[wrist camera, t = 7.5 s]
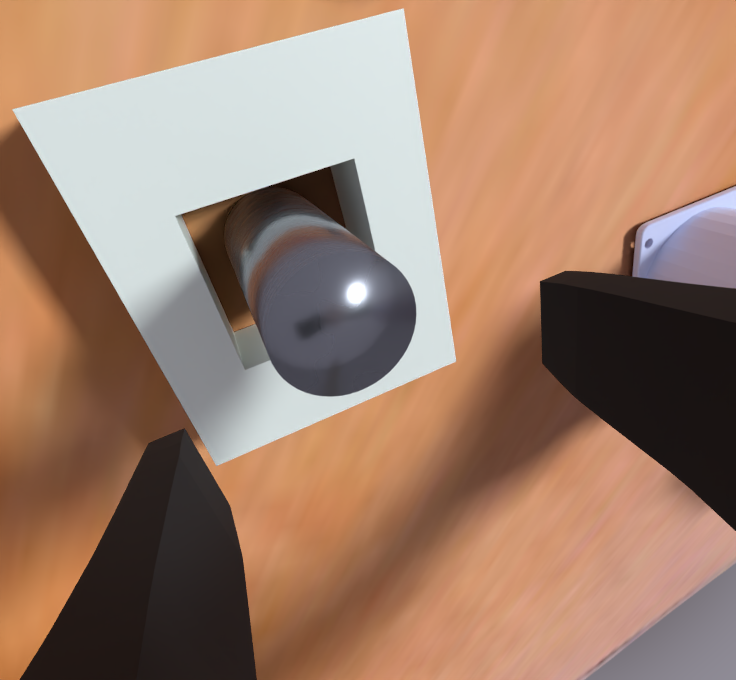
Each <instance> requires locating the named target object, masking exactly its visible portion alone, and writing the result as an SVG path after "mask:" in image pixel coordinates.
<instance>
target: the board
mask: <svg viewBox="0 0 736 680" xmlns="http://www.w3.org/2000/svg"><path fill="white" fill-rule="evenodd" d="M12 110H13V111H14V113H15V115H16V117H17V118H18V120H19V122H20V124H21V125H22V127H23V129H24V131H25V132H26V134H27V136H28V138H29V139H30V141H31V143H32V145H33V146H34V148H35V150H36V152H37V153H38V155H39V157H40V159H41V160H42V162H43V164H44V166H45V167H46V169H47V171H48V173H49V174H50V176H51V178H52V180H53V181H54V183H55V185H56V187H57V188H58V190H59V192H60V193H61V195H62V197H63V199H64V200H65V202H66V204H67V206H68V207H69V209H70V211H71V213H72V214H73V216H74V218H75V220H76V221H77V223H78V225H79V227H80V228H81V230H82V232H83V234H84V235H85V237H86V239H87V241H88V242H89V244H90V246H91V248H92V249H93V251H94V253H95V255H96V256H97V258H98V260H99V262H100V263H101V265H102V267H103V269H104V270H105V272H106V274H107V276H108V277H109V279H110V281H111V283H112V284H113V286H114V288H115V289H116V291H117V293H118V295H119V296H120V298H121V300H122V302H123V303H124V305H125V307H126V309H127V310H128V312H129V314H130V316H131V317H132V319H133V321H134V323H135V324H136V326H137V328H138V330H139V331H140V333H141V335H142V337H143V338H144V340H145V342H146V344H147V345H148V347H149V349H150V351H151V352H152V354H153V356H154V358H155V359H156V361H157V363H158V365H159V366H160V368H161V370H162V372H163V373H164V375H165V377H166V379H167V380H168V382H169V384H170V385H171V387H172V389H173V391H174V392H175V394H176V396H177V398H178V399H179V401H180V403H181V405H182V406H183V408H184V410H185V412H186V413H187V415H188V417H189V419H190V420H191V422H192V424H193V426H194V427H195V429H196V431H197V433H198V434H199V436H200V438H201V440H202V441H203V443H204V445H205V447H206V448H207V450H208V452H209V454H210V455H211V457H212V459H213V461H214V462H215V464H216V466H218V465H220V464H222V463H224V462H227V461H229V460H231V459H234V458H236V457H238V456H240V455H243V454H245V453H247V452H250V451H252V450H254V449H257V448H259V447H261V446H263V445H266V444H268V443H270V442H273V441H275V440H277V439H279V438H282V437H284V436H286V435H289V434H291V433H293V432H295V431H298V430H300V429H302V428H305V427H307V426H309V425H311V424H314V423H316V422H318V421H321V420H323V419H325V418H327V417H330V416H332V415H334V414H337V413H339V412H341V411H344V410H346V409H348V408H350V407H353V406H355V405H357V404H360V403H362V402H364V401H366V400H369V399H371V398H373V397H376V396H378V395H380V394H382V393H385V392H387V391H389V390H392V389H394V388H396V387H398V386H401V385H403V384H405V383H408V382H410V381H412V380H414V379H417V378H419V377H421V376H424V375H426V374H428V373H431V372H433V371H435V370H437V369H440V368H442V367H444V366H447V365H449V364H451V363H453V362H456V357H455V350H454V343H453V337H452V330H451V323H450V317H449V310H448V303H447V297H446V290H445V283H444V276H443V270H442V263H441V256H440V250H439V243H438V236H437V230H436V223H435V216H434V209H433V203H432V196H431V189H430V183H429V176H428V169H427V163H426V156H425V149H424V143H423V136H422V129H421V122H420V116H419V109H418V102H417V96H416V89H415V82H414V76H413V69H412V62H411V55H410V49H409V42H408V35H407V29H406V22H405V15H404V9H399V10H396V11H392V12H388V13H384V14H380V15H376V16H372V17H369V18H365V19H361V20H357V21H353V22H349V23H345V24H341V25H338V26H334V27H330V28H326V29H322V30H318V31H314V32H310V33H307V34H303V35H299V36H295V37H291V38H287V39H283V40H279V41H276V42H272V43H268V44H264V45H260V46H256V47H252V48H249V49H245V50H241V51H237V52H233V53H229V54H225V55H221V56H218V57H214V58H210V59H206V60H202V61H198V62H194V63H190V64H187V65H183V66H179V67H175V68H171V69H167V70H163V71H159V72H156V73H152V74H148V75H144V76H140V77H136V78H132V79H129V80H125V81H121V82H117V83H113V84H109V85H105V86H101V87H98V88H94V89H90V90H86V91H82V92H78V93H74V94H70V95H67V96H63V97H59V98H55V99H51V100H47V101H43V102H39V103H36V104H32V105H28V106H24V107H20V108H16V109H12ZM329 166H330V168H331V171H332V175H333V179H334V183H335V187H336V191H337V195H338V199H339V203H340V207H341V210H342V214H343V218H344V222H345V226H346V230H348V231H349V232H350V233H352V234H353V235H354V236H356V237H357V238H358V239H360V240H361V241H362V242H364V243H365V244H366V245H368V246H369V247H370V248H372V249H373V250H374V251H376V252H377V253H378V254H380V255H381V256H382V257H384V258H385V259H386V260H387V261H389V262H390V263H391V264H393V265H394V266H395V267H397V268H398V269H399V270H400V271H401V272H402V274H403V275H404V276H405V278H406V279H407V281H408V282H409V284H410V286H411V288H412V291H413V294H414V297H415V302H416V325H415V329H414V333H413V336H412V339H411V342H410V344H409V346H408V348H407V350H406V352H405V353H404V355H403V357H402V358H401V359H400V361H399V362H398V363H397V365H396V366H395V367H394V368H393V369H392V370H391V371H390V372H389V373H388V374H387V375H385V376H384V377H383V378H382V379H380V380H379V381H377V382H376V383H374V384H373V385H371V386H369V387H367V388H365V389H363V390H360V391H358V392H355V393H352V394H348V395H343V396H333V397H327V396H317V395H312V394H309V393H305V392H303V391H301V390H298V389H296V388H295V387H293V386H292V385H290V384H289V383H287V382H286V381H285V380H284V379H283V378H282V377H281V376H280V375H279V374H278V372H277V371H276V370H275V368H274V366H273V365H272V363H271V360H270V358H269V356H268V353H267V351H266V348H265V346H264V343H263V341H262V338H261V336H260V333H259V331H258V328H257V326H256V324H254V325H252V326H249V327H246V328H244V329H241V330H238V331H236V332H233V330H232V327H231V325H230V323H229V321H228V318H227V316H226V314H225V312H224V309H223V307H222V305H221V303H220V300H219V298H218V296H217V294H216V292H215V289H214V287H213V285H212V283H211V280H210V278H209V276H208V274H207V271H206V269H205V267H204V265H203V262H202V260H201V258H200V256H199V253H198V251H197V249H196V247H195V244H194V242H193V240H192V238H191V235H190V233H189V231H188V229H187V226H186V224H185V222H184V220H183V217H182V215H181V214H183V213H186V212H189V211H192V210H195V209H199V208H202V207H205V206H208V205H211V204H214V203H217V202H220V201H223V200H226V199H230V198H233V197H236V196H239V195H242V194H245V193H248V192H251V191H254V190H258V189H261V188H264V187H267V186H270V185H273V184H276V183H279V182H282V181H285V180H289V179H292V178H295V177H298V176H301V175H304V174H307V173H310V172H313V171H317V170H320V169H323V168H326V167H329Z"/></svg>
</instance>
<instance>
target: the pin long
mask: <svg viewBox="0 0 736 680" xmlns="http://www.w3.org/2000/svg"><path fill="white" fill-rule="evenodd" d="M224 243H225V248H226V252H227V254H228V257H229V259H230V261H231V264H232V266H233V269H234V271H235V274H236V276H237V279H238V281H239V284H240V286H241V289H242V291H243V294H244V296H245V299H246V301H247V304H248V306H249V309H250V311H251V314H252V316H253V318H254V321H255V323H256V326H257V328H258V331H259V333H260V336H261V338H262V341H263V343H264V346H265V348H266V351H267V353H268V356H269V358H270V360H271V363H272V365H273V366H274V368H275V370H276V371H277V372H278V374H279V375H280V376H281V377H282V378H283V379H284V380H285V381H286V382H287V383H289V384H290V385H292V386H293V387H295V388H296V389H298V390H301V391H303V392H305V393H309V394H312V395H317V396H327V397H333V396H343V395H348V394H352V393H355V392H358V391H360V390H363V389H365V388H367V387H369V386H371V385H373V384H374V383H376V382H377V381H379V380H380V379H382V378H383V377H384V376H385V375H387V374H388V373H389V372H390V371H391V370H392V369H393V368H394V367H395V366H396V365H397V363H398V362H399V361H400V359H401V358H402V357H403V355H404V353H405V352H406V350H407V348H408V346H409V344H410V342H411V339H412V336H413V333H414V329H415V325H416V302H415V297H414V294H413V291H412V288H411V286H410V284H409V282H408V281H407V279H406V278H405V276H404V275H403V274H402V272H401V271H400V270H399V269H398V268H397V267H395V266H394V265H393V264H391V263H390V262H389V261H387V260H386V259H385V258H384V257H382V256H381V255H380V254H378V253H377V252H376V251H374V250H373V249H372V248H370V247H369V246H368V245H366V244H365V243H364V242H362V241H361V240H360V239H358V238H357V237H356V236H354V235H353V234H352V233H350V232H349V231H348V230H346V229H345V228H344V227H342V226H341V225H340V224H338V223H337V222H336V221H334V220H333V219H332V218H330V217H329V216H328V215H326V214H325V213H324V212H323V211H321V210H320V209H319V208H317V207H316V206H315V205H313V204H312V203H311V202H309V201H308V200H307V199H305V198H304V197H303V196H301V195H300V194H298V193H296V192H294V191H292V190H289V189H285V188H281V187H267V188H261V189H258V190H255V191H253V192H251V193H249V194H247V195H246V196H244V197H243V198H242V199H241V200H239V201H238V202H237V204H236V205H235V206H234V207H233V209H232V210H231V212H230V214H229V216H228V218H227V221H226V224H225V229H224Z"/></svg>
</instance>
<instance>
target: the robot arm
mask: <svg viewBox="0 0 736 680" xmlns="http://www.w3.org/2000/svg"><path fill="white" fill-rule="evenodd" d="M540 297H541V332H542V363H543V365H544V366H545V367H546V368H547V369H548V370H549V371H550V372H551V373H552V374H553V375H554V376H555V377H556V379H557V380H558V381H559V382H560V383H561V384H562V385H563V386H564V387H565V388H566V389H567V390H568V391H569V392H570V393H571V394H572V395H573V396H574V397H575V398H577V399H578V400H579V401H580V402H581V403H583V404H584V405H585V406H586V407H588V408H589V409H590V410H591V411H593V412H594V413H595V414H596V415H598V416H599V417H600V418H601V419H603V420H604V421H605V422H607V423H608V424H609V425H610V426H612V427H613V428H614V429H616V430H617V431H618V432H619V433H621V434H622V435H623V436H625V437H626V438H627V439H628V440H630V441H631V442H632V443H634V444H635V445H636V446H638V447H639V448H640V449H641V450H643V451H644V452H645V453H647V454H648V455H649V456H650V457H652V458H653V459H654V460H656V461H657V462H658V463H659V464H661V465H662V466H663V467H665V468H666V469H667V470H669V471H670V472H671V473H672V474H673V475H675V476H676V477H677V478H678V479H679V480H681V481H682V482H683V483H684V484H685V485H687V486H688V487H689V488H690V489H691V490H692V491H693V492H695V493H696V494H697V495H698V496H699V497H700V498H701V499H702V500H703V501H704V502H705V503H706V504H707V505H708V506H709V507H711V508H712V509H713V510H714V511H715V512H716V513H717V514H718V515H719V516H720V517H721V518H722V519H723V520H724V521H725V522H727V523H728V524H729V525H730V526H731V527H732V528H733V529H734V530H735V531H736V186H734V187H732V188H729V189H727V190H725V191H722V192H720V193H717V194H715V195H712V196H710V197H707V198H705V199H702V200H700V201H698V202H695V203H693V204H690V205H688V206H685V207H683V208H680V209H678V210H675V211H673V212H670V213H668V214H666V215H663V216H661V217H658V218H656V219H653V220H651V221H648V222H646V223H644V224H642V225H641V226H640V227H639V228H638V230H637V233H636V240H635V251H634V262H633V273H632V276H624V275H615V274H606V273H595V272H582V271H564V272H562V273H559V274H557V275H555V276H552V277H550V278H547V279H545V280H542V281H540ZM20 680H257V678H256V669H255V660H254V652H253V643H252V634H251V625H250V616H249V607H248V598H247V590H246V581H245V573H244V565H243V557H242V553H241V549H240V544H239V540H238V536H237V532H236V528H235V524H234V520H233V516H232V512H231V508H230V505H229V503H228V501H227V500H226V498H225V496H224V494H223V493H222V491H221V489H220V488H219V486H218V484H217V483H216V481H215V479H214V477H213V476H212V474H211V472H210V471H209V469H208V467H207V466H206V464H205V462H204V461H203V459H202V457H201V455H200V454H199V452H198V450H197V449H196V447H195V445H194V444H193V442H192V440H191V438H190V437H189V435H188V433H187V432H186V430H185V428H184V429H182V430H179V431H177V432H175V433H172V434H170V435H167V436H165V437H162V438H160V439H158V440H155V441H153V442H150V443H149V444H148V446H147V448H146V450H145V451H144V453H143V455H142V457H141V460H140V462H139V464H138V466H137V468H136V470H135V472H134V474H133V476H132V478H131V480H130V482H129V484H128V486H127V488H126V490H125V492H124V494H123V496H122V498H121V501H120V503H119V505H118V507H117V509H116V511H115V513H114V515H113V517H112V519H111V521H110V523H109V525H108V527H107V529H106V530H105V532H104V534H103V536H102V538H101V540H100V542H99V544H98V546H97V548H96V550H95V552H94V554H93V556H92V558H91V560H90V561H89V563H88V565H87V567H86V568H85V570H84V572H83V574H82V576H81V577H80V579H79V581H78V583H77V584H76V586H75V588H74V590H73V591H72V593H71V595H70V597H69V599H68V600H67V602H66V604H65V606H64V607H63V609H62V611H61V613H60V614H59V616H58V618H57V620H56V622H55V623H54V625H53V627H52V629H51V630H50V632H49V634H48V635H47V637H46V638H45V640H44V642H43V643H42V645H41V647H40V648H39V650H38V652H37V653H36V655H35V656H34V658H33V659H32V661H31V663H30V664H29V666H28V667H27V669H26V671H25V672H24V674H23V675H22V677H21V678H20Z"/></svg>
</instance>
